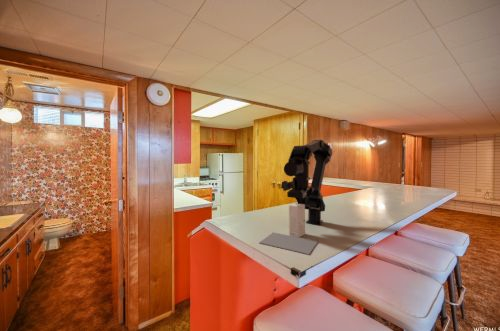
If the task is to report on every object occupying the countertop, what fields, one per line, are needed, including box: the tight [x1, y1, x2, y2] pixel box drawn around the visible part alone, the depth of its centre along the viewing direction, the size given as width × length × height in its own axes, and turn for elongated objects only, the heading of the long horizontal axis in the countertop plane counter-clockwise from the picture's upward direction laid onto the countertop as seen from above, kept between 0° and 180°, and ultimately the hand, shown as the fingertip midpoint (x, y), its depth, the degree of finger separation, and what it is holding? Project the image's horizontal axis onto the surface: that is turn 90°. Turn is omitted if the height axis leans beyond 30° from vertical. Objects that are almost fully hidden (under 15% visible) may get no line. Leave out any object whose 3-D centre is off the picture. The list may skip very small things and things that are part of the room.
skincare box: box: [288, 202, 306, 238], centre depth 83 cm, size 6×4×12 cm
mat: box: [258, 232, 319, 256], centre depth 75 cm, size 12×18×1 cm, turn 59°
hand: (301, 211), depth 88 cm, fingers closed
